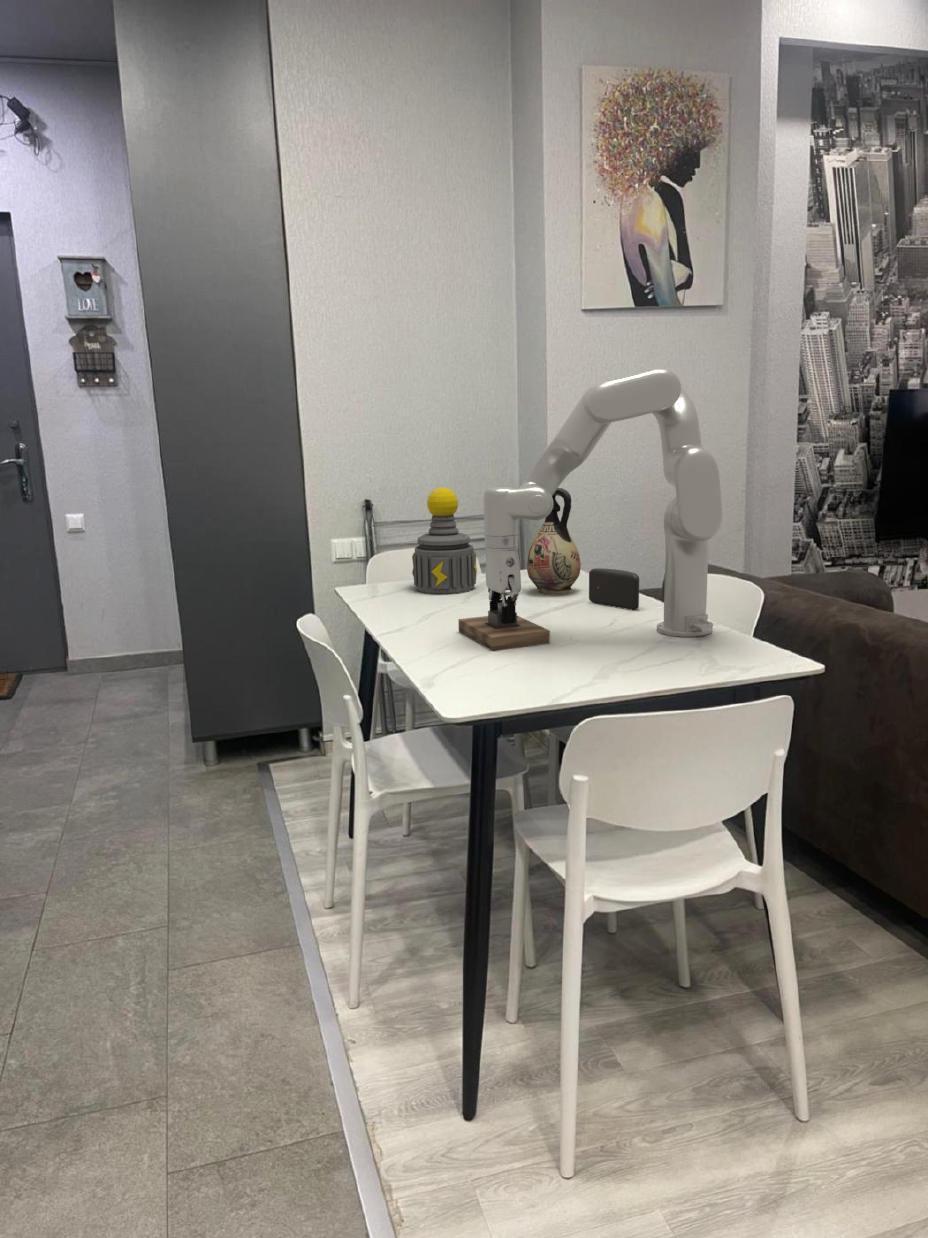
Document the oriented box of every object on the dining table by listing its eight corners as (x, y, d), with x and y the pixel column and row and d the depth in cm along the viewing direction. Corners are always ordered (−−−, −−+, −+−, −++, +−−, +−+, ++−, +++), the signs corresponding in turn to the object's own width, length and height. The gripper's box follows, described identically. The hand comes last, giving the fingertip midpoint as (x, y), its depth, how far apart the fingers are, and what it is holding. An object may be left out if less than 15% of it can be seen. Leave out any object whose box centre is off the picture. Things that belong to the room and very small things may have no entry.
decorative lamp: (408, 595, 258) (404, 490, 251) (419, 582, 276) (416, 485, 269) (472, 595, 255) (470, 489, 249) (480, 582, 273) (478, 484, 267)
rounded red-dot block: (646, 608, 232) (647, 573, 230) (635, 611, 229) (636, 575, 227) (598, 600, 244) (598, 566, 242) (587, 602, 241) (587, 568, 239)
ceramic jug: (515, 593, 256) (514, 488, 249) (548, 585, 267) (548, 484, 260) (563, 600, 245) (563, 490, 238) (595, 591, 256) (596, 486, 249)
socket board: (549, 643, 199) (549, 630, 199) (492, 650, 194) (491, 637, 194) (512, 625, 218) (512, 613, 217) (458, 631, 213) (458, 619, 212)
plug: (517, 633, 205) (516, 604, 203) (497, 636, 203) (496, 606, 201) (508, 629, 209) (507, 600, 208) (488, 631, 207) (487, 602, 206)
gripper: (533, 545, 195) (533, 626, 199) (500, 536, 210) (502, 611, 214) (501, 548, 192) (503, 629, 196) (471, 539, 208) (473, 614, 212)
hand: (502, 619), depth 205 cm, fingers open, 6 cm apart
